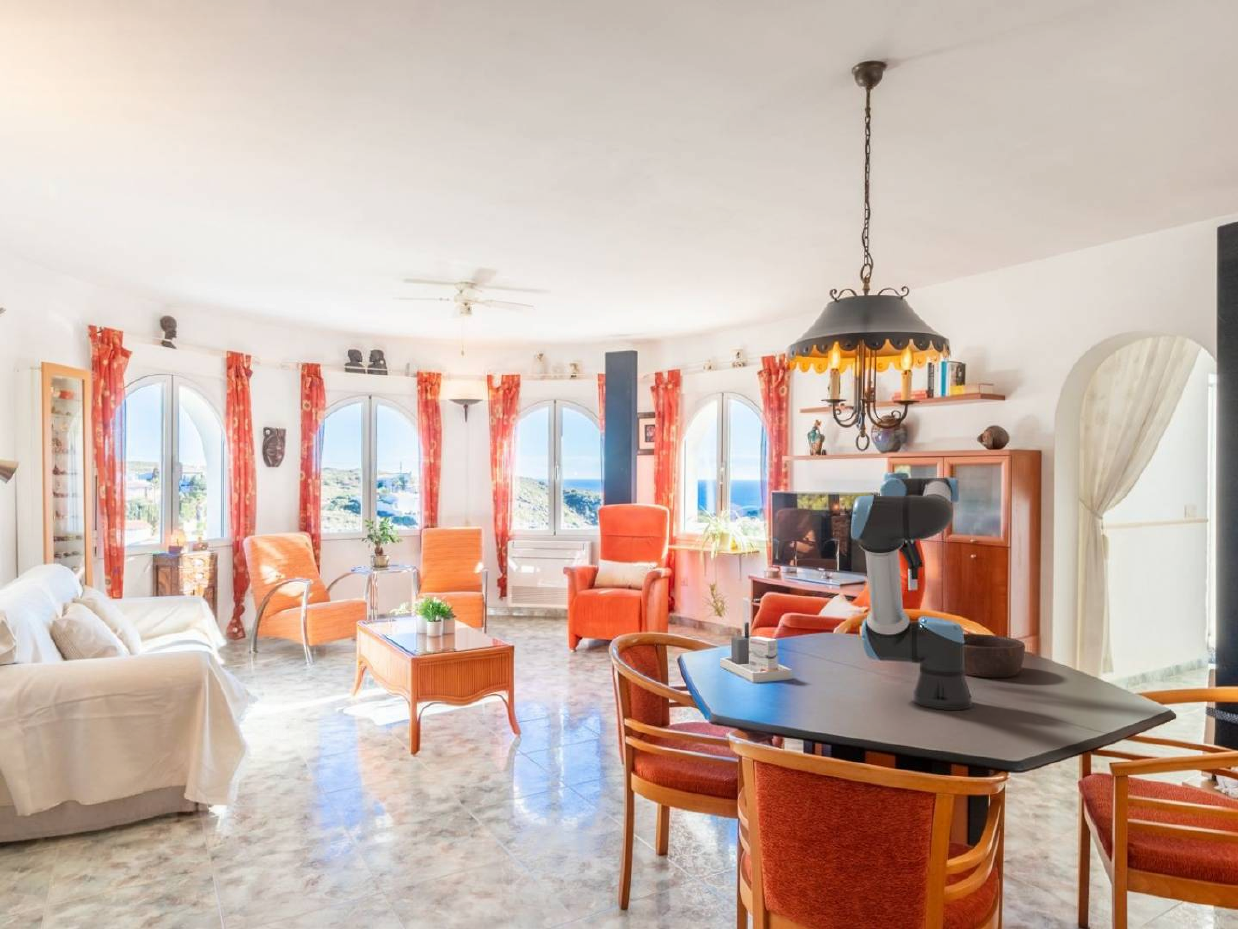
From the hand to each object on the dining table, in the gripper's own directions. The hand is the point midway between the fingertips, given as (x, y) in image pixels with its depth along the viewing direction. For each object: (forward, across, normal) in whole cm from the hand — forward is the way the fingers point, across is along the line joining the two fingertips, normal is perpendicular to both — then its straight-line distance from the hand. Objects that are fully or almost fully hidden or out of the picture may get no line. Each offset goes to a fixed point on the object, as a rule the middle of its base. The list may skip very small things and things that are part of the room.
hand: (898, 587), depth 245 cm
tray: (+29, +22, +40) cm, 54 cm away
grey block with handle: (+29, +27, +40) cm, 56 cm away
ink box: (+28, +16, +40) cm, 52 cm away
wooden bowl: (+29, -1, -32) cm, 43 cm away
